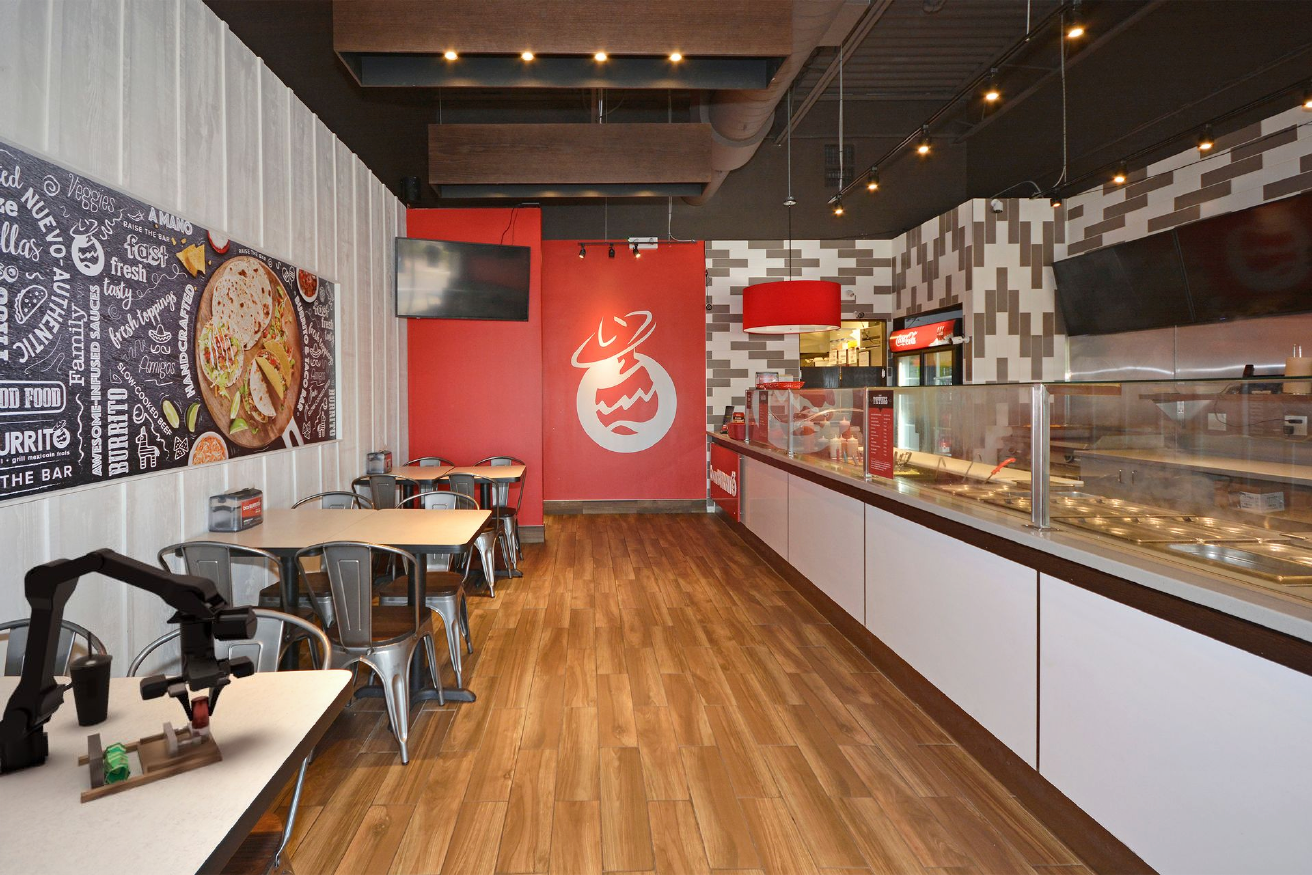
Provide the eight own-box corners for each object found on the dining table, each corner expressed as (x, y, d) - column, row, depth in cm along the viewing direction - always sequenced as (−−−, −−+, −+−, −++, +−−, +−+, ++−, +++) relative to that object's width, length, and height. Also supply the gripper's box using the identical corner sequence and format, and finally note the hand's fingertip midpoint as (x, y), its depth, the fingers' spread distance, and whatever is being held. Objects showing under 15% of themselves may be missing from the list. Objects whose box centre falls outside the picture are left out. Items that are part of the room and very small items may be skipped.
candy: (135, 775, 126) (119, 762, 124) (116, 791, 124) (99, 778, 122) (131, 751, 135) (115, 738, 133) (113, 765, 133) (97, 753, 131)
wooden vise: (81, 803, 118) (79, 769, 118) (78, 763, 132) (76, 732, 131) (222, 760, 132) (221, 730, 132) (206, 728, 146) (205, 700, 145)
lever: (170, 759, 130) (168, 715, 129) (163, 740, 137) (162, 699, 137) (214, 746, 135) (212, 704, 134) (205, 728, 142) (204, 689, 142)
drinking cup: (124, 714, 153) (120, 626, 152) (93, 730, 145) (88, 638, 144) (93, 712, 153) (89, 625, 152) (60, 728, 146) (56, 637, 145)
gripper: (143, 665, 124) (147, 748, 125) (259, 641, 137) (261, 717, 137) (138, 649, 132) (141, 727, 133) (247, 628, 145) (249, 699, 146)
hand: (200, 718), depth 137 cm, fingers closed on lever, 3 cm apart
